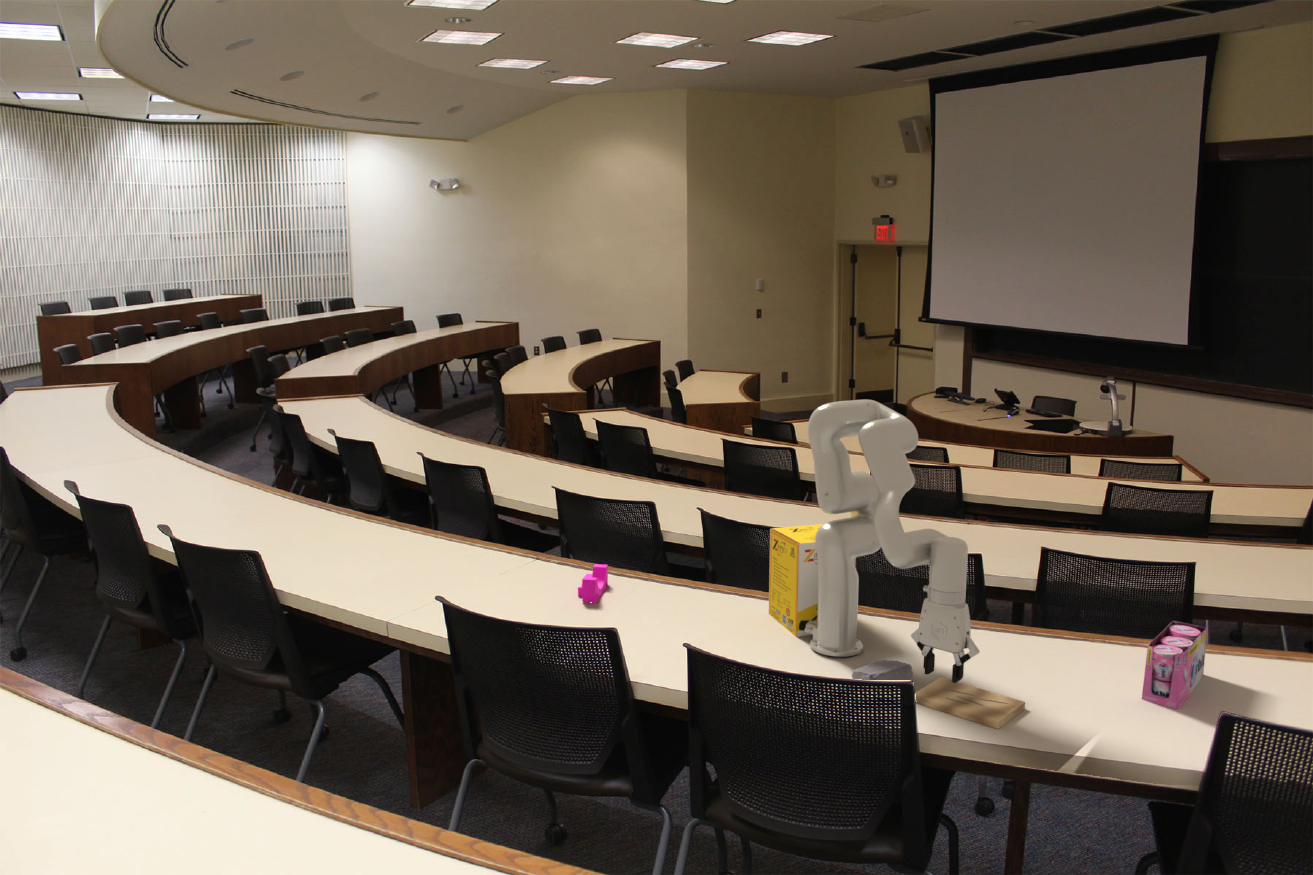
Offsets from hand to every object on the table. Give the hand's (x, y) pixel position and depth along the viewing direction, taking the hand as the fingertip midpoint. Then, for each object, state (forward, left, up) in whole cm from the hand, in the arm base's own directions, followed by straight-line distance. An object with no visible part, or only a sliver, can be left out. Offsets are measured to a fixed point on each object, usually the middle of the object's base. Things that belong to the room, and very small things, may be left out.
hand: (942, 675), depth 206 cm
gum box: (+35, +37, -5) cm, 51 cm away
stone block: (-18, -1, -2) cm, 18 cm away
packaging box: (-46, +17, -5) cm, 49 cm away
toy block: (-105, -5, -5) cm, 105 cm away
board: (+6, 0, -5) cm, 8 cm away
